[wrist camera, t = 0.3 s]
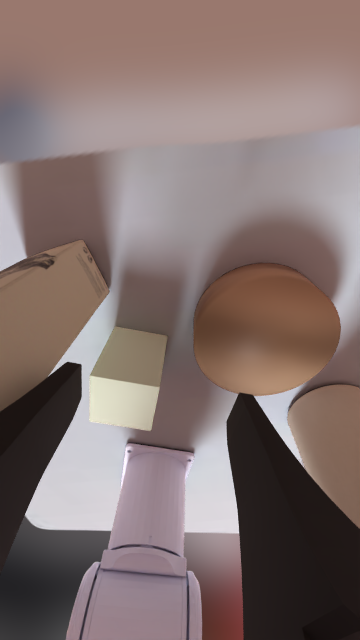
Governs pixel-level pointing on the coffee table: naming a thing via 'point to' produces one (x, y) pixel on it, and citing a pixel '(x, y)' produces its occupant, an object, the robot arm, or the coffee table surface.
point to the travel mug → (331, 442)
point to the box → (44, 313)
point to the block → (127, 379)
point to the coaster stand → (264, 330)
